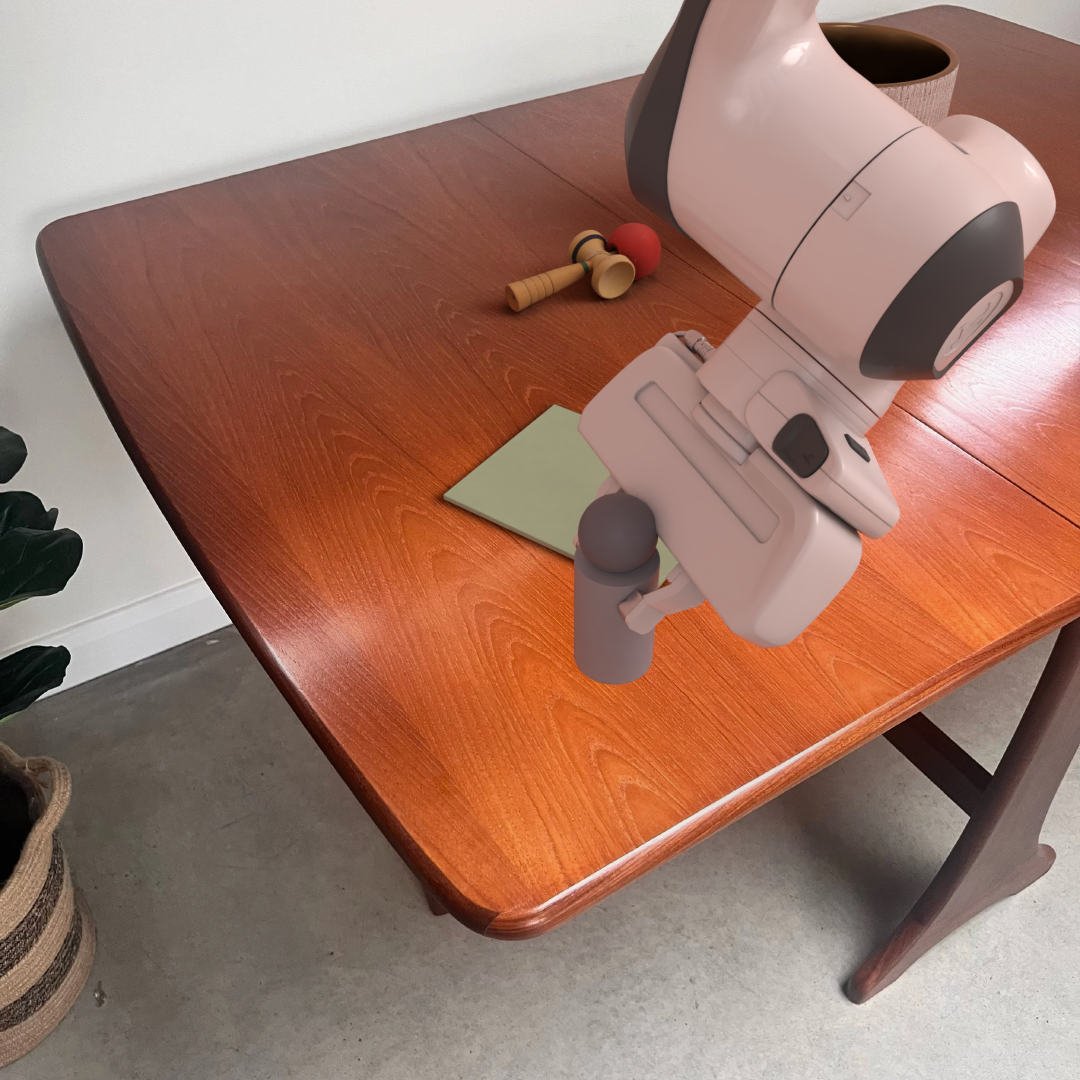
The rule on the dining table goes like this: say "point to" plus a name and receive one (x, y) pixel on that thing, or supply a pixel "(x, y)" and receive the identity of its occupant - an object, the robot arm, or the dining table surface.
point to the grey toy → (613, 587)
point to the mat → (541, 485)
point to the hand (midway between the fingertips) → (606, 588)
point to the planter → (899, 65)
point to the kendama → (595, 265)
